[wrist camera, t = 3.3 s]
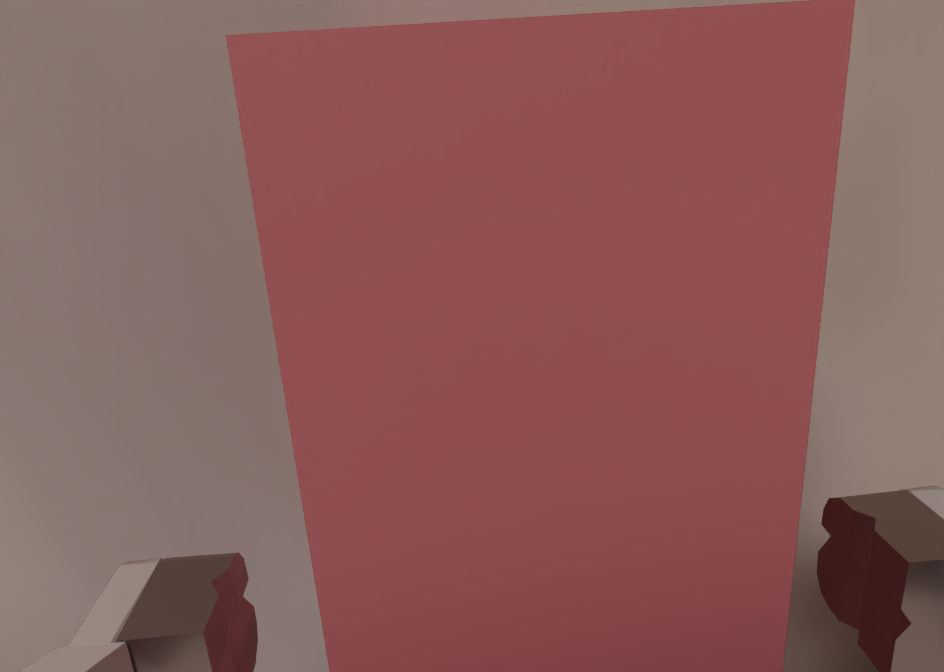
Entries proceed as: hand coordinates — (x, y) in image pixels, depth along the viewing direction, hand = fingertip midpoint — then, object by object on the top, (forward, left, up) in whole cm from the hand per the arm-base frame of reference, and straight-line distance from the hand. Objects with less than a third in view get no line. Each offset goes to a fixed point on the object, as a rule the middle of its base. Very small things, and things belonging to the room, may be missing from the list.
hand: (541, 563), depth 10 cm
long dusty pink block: (0, 0, -7) cm, 7 cm away
